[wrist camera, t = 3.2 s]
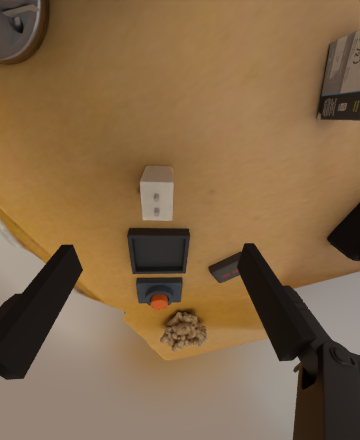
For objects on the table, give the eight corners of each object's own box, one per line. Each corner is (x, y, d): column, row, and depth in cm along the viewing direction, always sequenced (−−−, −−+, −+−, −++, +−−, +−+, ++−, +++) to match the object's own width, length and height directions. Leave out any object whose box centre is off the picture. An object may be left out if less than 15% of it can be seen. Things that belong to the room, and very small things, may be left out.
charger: (147, 197, 31) (141, 225, 23) (146, 165, 28) (137, 185, 20) (170, 198, 31) (172, 226, 24) (172, 166, 28) (174, 186, 20)
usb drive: (208, 267, 43) (210, 275, 41) (251, 246, 40) (256, 254, 37) (217, 277, 45) (219, 286, 43) (258, 258, 42) (263, 267, 40)
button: (151, 303, 45) (150, 309, 43) (150, 293, 42) (150, 300, 41) (167, 303, 45) (167, 309, 44) (167, 293, 43) (168, 299, 41)
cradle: (134, 265, 41) (132, 274, 39) (129, 228, 35) (127, 235, 32) (184, 265, 42) (185, 273, 40) (188, 228, 36) (190, 235, 34)
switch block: (139, 297, 48) (137, 309, 45) (137, 278, 43) (134, 289, 40) (180, 296, 49) (180, 308, 46) (182, 277, 44) (183, 288, 41)
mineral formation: (207, 322, 59) (170, 336, 61) (191, 299, 54) (151, 315, 56) (212, 347, 51) (170, 362, 53) (194, 322, 47) (149, 340, 49)
